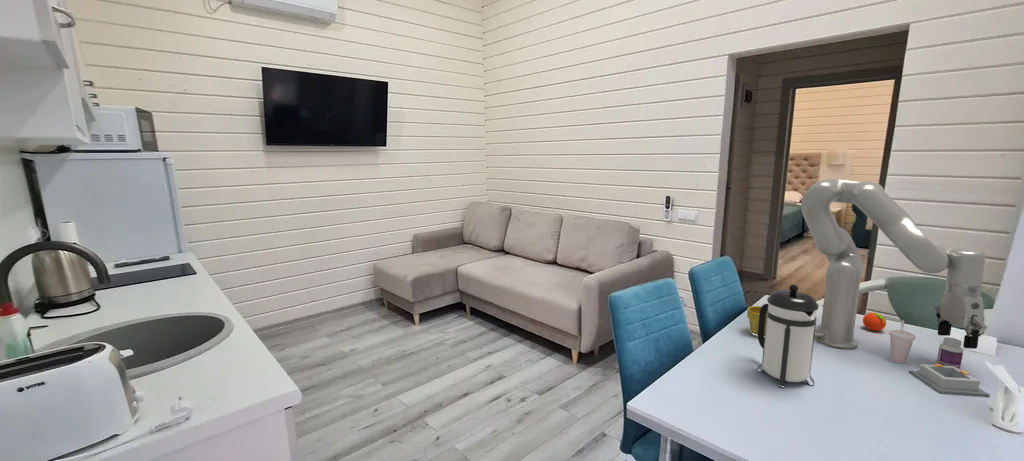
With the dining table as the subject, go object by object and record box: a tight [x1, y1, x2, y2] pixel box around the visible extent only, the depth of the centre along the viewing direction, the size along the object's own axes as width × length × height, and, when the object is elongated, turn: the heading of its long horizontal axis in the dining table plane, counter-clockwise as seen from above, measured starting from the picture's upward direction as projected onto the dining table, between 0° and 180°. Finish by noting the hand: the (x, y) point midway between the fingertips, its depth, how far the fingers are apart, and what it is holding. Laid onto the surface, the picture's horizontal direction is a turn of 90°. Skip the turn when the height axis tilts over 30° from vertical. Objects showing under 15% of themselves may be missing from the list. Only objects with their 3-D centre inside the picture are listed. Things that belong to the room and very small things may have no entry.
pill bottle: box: [936, 336, 964, 370], centre depth 133 cm, size 5×5×10 cm
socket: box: [908, 363, 991, 398], centre depth 125 cm, size 12×12×4 cm
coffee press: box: [756, 284, 820, 386], centre depth 129 cm, size 17×16×30 cm
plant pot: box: [746, 305, 767, 336], centre depth 160 cm, size 10×10×10 cm
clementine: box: [862, 312, 887, 332], centre depth 162 cm, size 8×7×7 cm
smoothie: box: [888, 319, 916, 365], centre depth 138 cm, size 6×6×14 cm
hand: (956, 341), depth 132 cm, fingers open, 9 cm apart
